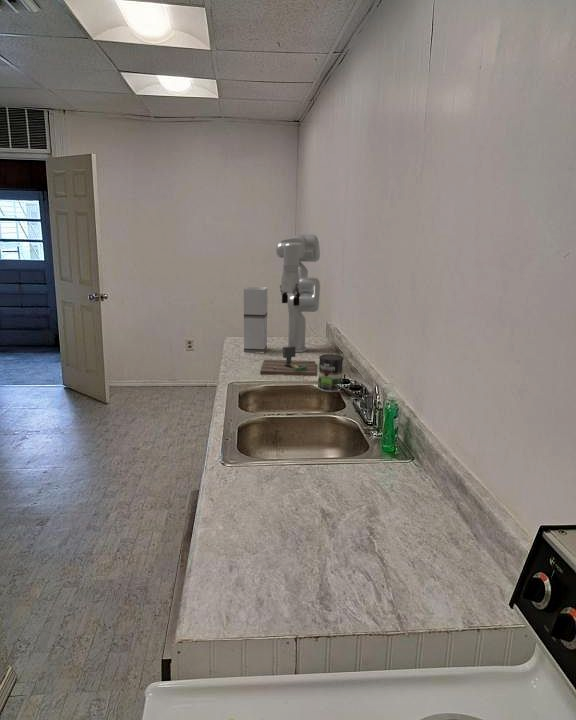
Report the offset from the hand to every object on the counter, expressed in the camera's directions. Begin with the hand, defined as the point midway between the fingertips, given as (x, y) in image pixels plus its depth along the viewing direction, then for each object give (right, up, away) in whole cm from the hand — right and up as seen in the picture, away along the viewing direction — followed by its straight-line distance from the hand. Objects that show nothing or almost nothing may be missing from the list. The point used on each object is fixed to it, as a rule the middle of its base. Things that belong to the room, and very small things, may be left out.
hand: (290, 304), depth 255 cm
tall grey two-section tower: (-19, -22, +34) cm, 45 cm away
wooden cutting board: (-1, -32, -3) cm, 32 cm away
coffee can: (+17, -40, -34) cm, 55 cm away
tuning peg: (+1, -31, -7) cm, 32 cm away
